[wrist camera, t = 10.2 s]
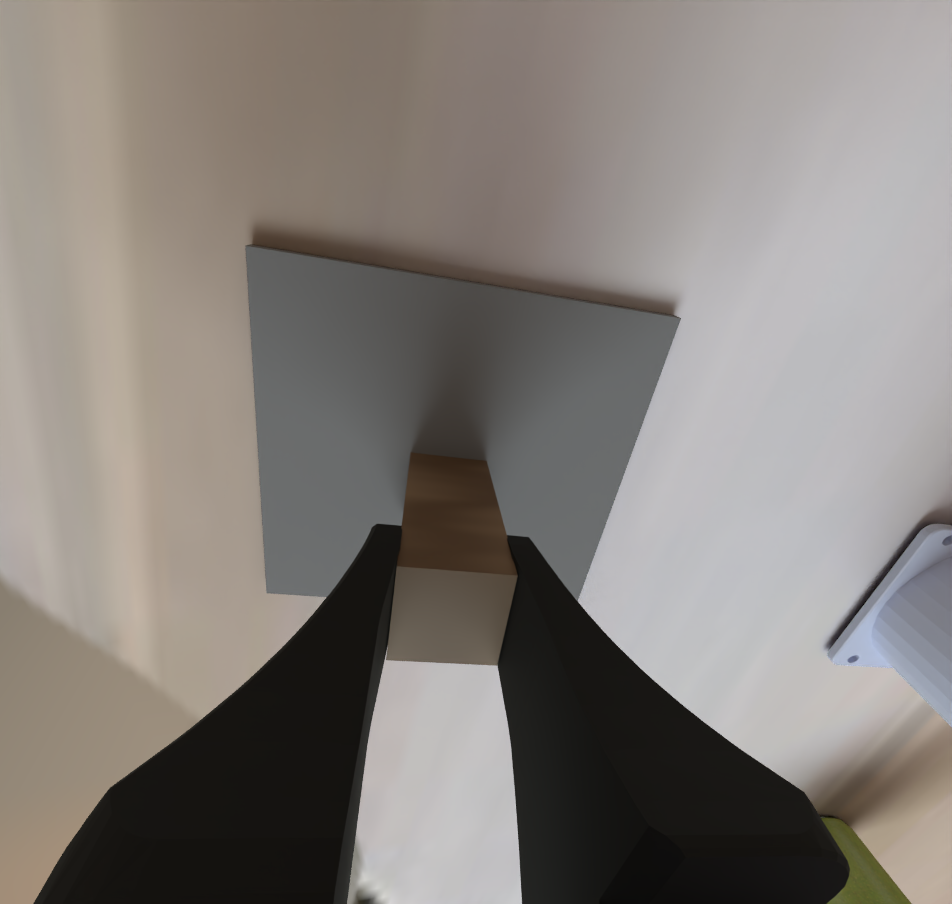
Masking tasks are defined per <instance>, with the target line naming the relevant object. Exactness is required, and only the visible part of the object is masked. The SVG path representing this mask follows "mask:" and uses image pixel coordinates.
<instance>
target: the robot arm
mask: <svg viewBox="0 0 952 904" xmlns="http://www.w3.org/2000/svg"><path fill="white" fill-rule="evenodd" d="M401 527H402V526H399V525H388V524H376V525H374V526H373V527H372V528H371V531H370V533H369V535H368V537H367V539H366V541H365V543H364V545H363V546H362V548H361V550H360V551H359V553H358V555H357V556H356V558H355V559H354V561H353V562H352V564H351V565H350V567H349V568H348V570H347V571H346V572H345V574H344V575H343V577H342V578H341V580H340V581H339V582H338V584H337V585H336V586H335V588H334V589H333V590H332V591H331V593H330V594H329V595H328V596H327V598H326V599H325V600H324V601H323V603H322V604H321V605H320V606H319V608H318V609H317V610H316V611H315V612H314V614H313V615H312V616H311V617H310V618H309V619H308V621H307V622H306V623H305V624H304V625H303V626H302V627H301V628H300V629H299V631H298V632H297V633H296V634H295V635H294V636H293V637H292V638H291V639H290V640H289V641H288V642H287V643H286V644H285V645H284V646H283V647H282V648H281V649H280V650H279V651H278V652H277V653H276V654H275V655H274V656H273V657H272V658H271V659H270V660H269V661H268V662H267V663H266V664H265V665H264V666H263V667H262V668H261V669H260V670H259V671H257V672H256V673H255V674H254V675H253V676H252V677H251V678H250V679H249V680H248V681H247V682H245V683H244V684H243V685H242V686H241V687H240V688H239V689H238V690H236V691H235V692H234V693H233V694H232V695H230V696H229V697H228V698H227V699H225V700H224V701H223V702H222V703H221V704H219V705H218V706H217V707H216V708H215V709H213V710H212V711H211V712H210V713H209V714H207V715H206V716H205V717H204V718H203V719H201V720H200V721H199V722H198V723H197V724H195V725H194V726H193V727H192V728H190V729H189V730H188V731H187V732H185V733H184V734H183V735H181V736H180V737H179V738H177V739H176V740H175V741H173V742H172V743H171V744H169V745H168V746H167V747H165V748H164V749H162V750H161V751H160V752H158V753H157V754H156V755H155V756H153V757H152V758H150V759H149V760H148V761H146V762H145V763H143V764H142V765H141V766H139V767H138V768H137V769H135V770H134V771H132V772H131V773H130V774H128V775H127V776H126V777H125V778H123V779H122V780H120V781H119V782H117V783H116V784H115V785H113V786H112V787H111V788H110V789H109V790H108V791H107V793H106V794H105V795H104V796H103V798H102V799H101V800H100V802H99V803H98V804H97V806H96V807H95V808H94V810H93V811H92V813H91V814H90V815H89V817H88V818H87V819H86V821H85V822H84V824H83V825H82V827H81V828H80V830H79V831H78V832H77V834H76V835H75V837H74V838H73V839H72V841H71V842H70V844H69V845H68V846H67V848H66V849H65V851H64V853H63V854H62V856H61V857H60V859H59V861H58V862H57V864H56V866H55V867H54V869H53V871H52V873H51V874H50V876H49V878H48V880H47V881H46V883H45V885H44V886H43V888H42V890H41V892H40V893H39V895H38V897H37V898H36V900H35V902H34V904H347V898H348V891H349V883H350V875H351V867H352V859H353V851H354V844H355V836H356V828H357V820H358V812H359V805H360V797H361V789H362V781H363V774H364V766H365V758H366V751H367V743H368V737H369V732H370V726H371V721H372V716H373V711H374V707H375V702H376V697H377V693H378V688H379V683H380V678H381V674H382V669H383V664H384V660H385V655H386V650H387V646H388V640H389V631H390V622H391V613H392V604H393V595H394V586H395V577H396V568H397V560H398V555H399V551H400V546H401V537H402V529H401ZM507 537H508V538H507V541H508V545H509V548H510V552H511V556H512V559H513V561H514V564H515V567H516V571H517V574H518V577H517V582H516V586H515V590H514V595H513V599H512V603H511V607H510V612H509V616H508V620H507V625H506V629H505V633H504V638H503V642H502V646H501V651H500V655H499V659H498V670H499V676H500V681H501V687H502V693H503V698H504V704H505V710H506V715H507V721H508V727H509V734H510V741H511V749H512V761H513V773H514V785H515V797H516V811H517V825H518V839H519V855H520V873H521V891H522V904H827V903H828V902H829V901H830V900H832V899H833V898H834V897H835V896H836V895H837V894H838V893H839V892H840V891H841V890H842V889H843V888H844V887H845V885H846V883H847V880H848V878H849V873H850V867H849V864H848V860H847V859H846V857H845V856H844V854H843V852H842V851H841V849H840V848H839V846H838V844H837V843H836V841H835V840H834V838H833V836H832V835H831V833H830V832H829V830H828V829H827V827H826V825H825V824H824V822H823V821H822V819H821V817H820V816H819V814H818V813H817V811H816V809H815V808H814V806H813V805H812V803H811V802H810V800H809V799H808V797H807V796H806V794H805V793H804V792H803V791H802V790H800V789H799V788H797V787H796V786H794V785H793V784H791V783H790V782H788V781H787V780H785V779H784V778H782V777H781V776H779V775H778V774H776V773H775V772H773V771H772V770H770V769H769V768H767V767H766V766H764V765H763V764H761V763H760V762H758V761H757V760H755V759H754V758H752V757H751V756H749V755H748V754H746V753H745V752H743V751H742V750H741V749H739V748H738V747H736V746H735V745H734V744H732V743H731V742H730V741H728V740H727V739H726V738H724V737H723V736H722V735H720V734H719V733H718V732H716V731H715V730H714V729H712V728H711V727H710V726H708V725H707V724H706V723H704V722H703V721H702V720H700V719H699V718H698V717H697V716H695V715H694V714H693V713H692V712H690V711H689V710H688V709H687V708H685V707H684V706H683V705H682V704H680V703H679V702H678V701H677V700H676V699H675V698H673V697H672V696H671V695H670V694H669V693H668V692H666V691H665V690H664V689H663V688H662V687H660V686H659V685H658V684H657V683H656V682H655V681H654V680H652V679H651V678H650V677H649V676H648V675H647V674H646V673H645V672H644V671H642V670H641V669H640V668H639V667H638V666H637V665H636V664H635V663H634V662H633V661H632V660H631V659H630V658H629V657H628V656H627V655H626V654H625V653H624V652H623V651H622V650H621V649H620V648H619V647H618V646H617V645H616V644H615V643H614V642H613V641H612V640H611V639H610V638H609V637H608V636H607V635H606V634H605V633H604V632H603V630H602V629H601V628H600V627H599V626H598V625H597V624H596V623H595V621H594V620H593V619H592V618H591V617H590V616H589V615H588V614H587V612H586V611H585V610H584V609H583V608H582V606H581V605H580V604H579V603H578V601H577V600H576V599H575V598H574V596H573V595H572V594H571V593H570V591H569V590H568V589H567V588H566V586H565V585H564V584H563V582H562V581H561V580H560V578H559V577H558V576H557V574H556V573H555V572H554V570H553V569H552V568H551V566H550V565H549V564H548V562H547V561H546V559H545V558H544V557H543V555H542V554H541V553H540V551H539V550H538V548H537V547H536V546H535V544H534V543H533V542H532V540H531V539H530V538H529V537H523V536H512V535H507ZM827 656H828V658H829V659H830V660H831V661H832V662H833V663H834V664H836V665H848V666H866V667H885V668H894V670H895V671H896V672H897V673H898V674H899V675H900V676H901V677H902V678H903V679H904V680H905V681H906V682H907V683H908V684H909V685H910V686H911V687H912V688H913V689H914V690H915V691H916V692H917V693H918V694H919V695H920V696H921V697H922V698H923V699H924V700H925V701H926V702H927V703H928V704H929V705H930V706H931V707H932V708H933V709H934V710H935V711H936V712H937V713H938V714H939V715H940V716H941V717H942V718H943V719H944V720H945V721H946V722H947V723H948V724H949V725H950V726H951V727H952V525H946V524H931V525H928V526H926V527H924V528H923V529H922V530H921V531H920V532H919V533H918V534H917V536H916V537H915V538H914V540H913V541H912V542H911V544H910V545H909V546H908V548H907V549H906V550H905V551H904V553H903V554H902V555H901V557H900V558H899V559H898V561H897V562H896V563H895V565H894V566H893V567H892V569H891V570H890V571H889V572H888V574H887V575H886V576H885V578H884V579H883V580H882V582H881V583H880V584H879V586H878V587H877V588H876V589H875V591H874V592H873V593H872V595H871V596H870V597H869V599H868V600H867V601H866V603H865V604H864V605H863V607H862V608H861V609H860V610H859V612H858V613H857V614H856V616H855V617H854V618H853V620H852V621H851V622H850V624H849V625H848V626H847V627H846V629H845V630H844V631H843V633H842V634H841V635H840V637H839V638H838V639H837V641H836V642H835V643H834V645H833V646H832V647H831V648H830V650H829V651H828V653H827Z"/></svg>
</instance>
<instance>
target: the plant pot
mask: <svg viewBox="0 0 952 904" xmlns="http://www.w3.org/2000/svg"><path fill="white" fill-rule="evenodd" d="M821 819H822V821H823V822H824V824H825V825H826V827H827V829H828V830H829V832H830V833H831V835H832V836H833V838H834V840H835V841H836V843H837V844H838V846H839V848H840V849H841V851H842V852H843V854H844V856H845V857H846V859H847V860H848V864H849V867H850V873H849V878H848V880H847V883H846V885H845V887H844V888H843V889H842V890H841V891H840V892H839V893H838V894H837V895H836V896H835V897H834V898H833V899H832V900H830V901H829V902H828V903H827V904H911V902H910V901H909V900H908V899H907V897H906V896H905V895H904V894H903V892H902V891H901V890H900V889H899V887H898V886H897V885H896V884H895V882H894V881H893V880H892V879H891V877H890V876H889V875H888V874H887V872H886V871H885V870H884V869H883V867H882V866H881V865H880V864H879V862H878V861H877V860H876V859H875V857H874V856H873V855H872V854H871V852H870V851H869V850H868V848H867V847H866V846H865V845H864V843H863V842H862V841H861V840H860V838H859V837H858V836H857V834H856V833H855V832H854V831H853V830H852V829H851V828H850V827H849V826H848V825H846V824H845V823H844V822H843V821H841V820H840V819H836V818H830V817H826V818H821Z"/></svg>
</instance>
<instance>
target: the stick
mask: <svg viewBox="0 0 952 904" xmlns="http://www.w3.org/2000/svg"><path fill="white" fill-rule="evenodd" d="M401 529H402V537H401V546H400V551H399V555H398V560H397V568H396V577H395V586H394V595H393V604H392V613H391V622H390V631H389V640H388V649H387V658H386V660H394V661H415V662H436V663H457V664H478V665H497V664H498V659H499V655H500V651H501V646H502V642H503V638H504V633H505V629H506V625H507V620H508V616H509V612H510V607H511V603H512V599H513V595H514V590H515V586H516V582H517V577H518V574H517V571H516V567H515V564H514V561H513V559H512V556H511V552H510V548H509V545H508V541H507V538H508V537H507V534H506V530H505V526H504V523H503V519H502V515H501V512H500V508H499V504H498V501H497V497H496V493H495V490H494V486H493V482H492V479H491V475H490V471H489V468H488V464H487V461H483V460H474V459H465V458H456V457H447V456H438V455H429V454H420V453H410V461H409V470H408V478H407V486H406V494H405V502H404V511H403V519H402V527H401Z"/></svg>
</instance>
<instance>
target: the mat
mask: <svg viewBox="0 0 952 904" xmlns="http://www.w3.org/2000/svg"><path fill="white" fill-rule="evenodd" d="M246 262H247V278H248V295H249V311H250V328H251V344H252V361H253V377H254V393H255V410H256V426H257V443H258V459H259V475H260V492H261V508H262V525H263V541H264V557H265V574H266V590H267V593H273V594H288V595H303V596H318V597H327V596H328V595H329V594H330V593H331V591H332V590H333V589H334V588H335V586H336V585H337V584H338V582H339V581H340V580H341V578H342V577H343V575H344V574H345V572H346V571H347V570H348V568H349V567H350V565H351V564H352V562H353V561H354V559H355V558H356V556H357V555H358V553H359V551H360V550H361V548H362V546H363V545H364V543H365V541H366V539H367V537H368V535H369V533H370V531H371V528H372V527H373V526H374V525H376V524H388V525H399V526H402V519H403V511H404V502H405V494H406V486H407V478H408V470H409V461H410V453H420V454H429V455H438V456H447V457H456V458H465V459H474V460H483V461H487V464H488V468H489V471H490V475H491V479H492V482H493V486H494V490H495V493H496V497H497V501H498V504H499V508H500V512H501V515H502V519H503V523H504V526H505V530H506V534H507V535H512V536H523V537H529V538H530V539H531V540H532V542H533V543H534V544H535V546H536V547H537V548H538V550H539V551H540V553H541V554H542V555H543V557H544V558H545V559H546V561H547V562H548V564H549V565H550V566H551V568H552V569H553V570H554V572H555V573H556V574H557V576H558V577H559V578H560V580H561V581H562V582H563V584H564V585H565V586H566V588H567V589H568V590H569V591H570V593H571V594H572V595H573V596H574V598H575V599H576V600H577V601H578V598H579V596H580V593H581V590H582V587H583V585H584V582H585V579H586V576H587V574H588V571H589V568H590V565H591V563H592V560H593V557H594V555H595V552H596V549H597V546H598V544H599V541H600V538H601V535H602V533H603V530H604V527H605V524H606V522H607V519H608V516H609V514H610V511H611V508H612V505H613V503H614V500H615V497H616V494H617V492H618V489H619V486H620V483H621V481H622V478H623V475H624V473H625V470H626V467H627V464H628V462H629V459H630V456H631V453H632V451H633V448H634V445H635V442H636V440H637V437H638V434H639V431H640V429H641V426H642V423H643V421H644V418H645V415H646V412H647V410H648V407H649V404H650V401H651V399H652V396H653V393H654V390H655V388H656V385H657V382H658V380H659V377H660V374H661V371H662V369H663V366H664V363H665V360H666V358H667V355H668V352H669V349H670V347H671V344H672V341H673V338H674V336H675V333H676V330H677V328H678V325H679V322H680V319H681V318H679V317H677V316H674V315H668V314H662V313H656V312H650V311H644V310H638V309H632V308H626V307H620V306H614V305H608V304H603V303H597V302H591V301H585V300H579V299H573V298H567V297H561V296H555V295H549V294H543V293H537V292H531V291H525V290H519V289H513V288H507V287H501V286H495V285H489V284H483V283H477V282H471V281H465V280H459V279H453V278H447V277H441V276H435V275H429V274H423V273H417V272H411V271H406V270H400V269H394V268H388V267H382V266H376V265H370V264H364V263H358V262H352V261H346V260H340V259H334V258H328V257H322V256H316V255H310V254H304V253H298V252H292V251H286V250H280V249H274V248H268V247H262V246H256V245H247V246H246Z"/></svg>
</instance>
